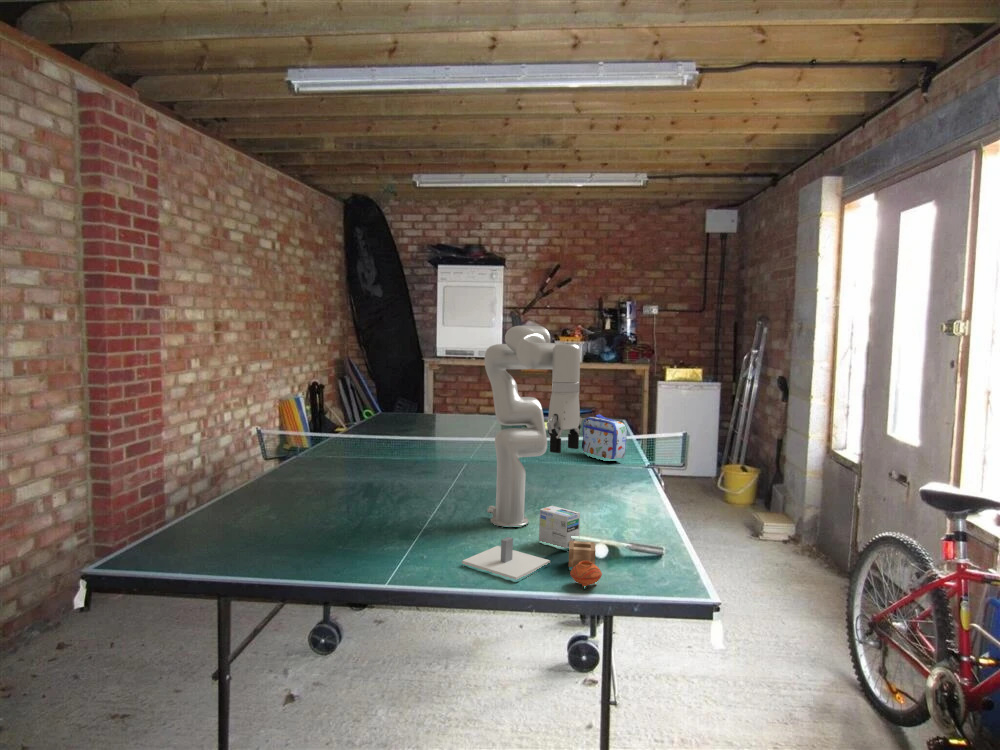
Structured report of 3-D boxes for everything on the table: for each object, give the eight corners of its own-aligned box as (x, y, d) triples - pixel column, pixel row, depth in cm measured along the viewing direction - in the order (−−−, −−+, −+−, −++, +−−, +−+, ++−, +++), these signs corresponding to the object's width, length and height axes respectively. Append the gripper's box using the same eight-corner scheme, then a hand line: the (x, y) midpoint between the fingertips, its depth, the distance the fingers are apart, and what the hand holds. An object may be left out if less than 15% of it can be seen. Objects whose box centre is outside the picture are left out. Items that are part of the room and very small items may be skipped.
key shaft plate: (462, 565, 176) (462, 538, 175) (497, 550, 189) (498, 525, 188) (516, 583, 165) (517, 554, 165) (549, 565, 178) (550, 539, 177)
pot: (604, 592, 160) (598, 566, 160) (572, 596, 162) (567, 570, 161) (604, 579, 168) (599, 554, 168) (574, 583, 170) (569, 558, 169)
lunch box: (577, 455, 335) (578, 412, 333) (592, 453, 340) (594, 412, 339) (611, 465, 311) (613, 420, 310) (628, 464, 317) (630, 419, 315)
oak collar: (568, 570, 175) (569, 549, 174) (568, 561, 182) (569, 540, 181) (594, 572, 174) (595, 550, 173) (593, 563, 181) (594, 542, 180)
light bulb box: (579, 547, 194) (581, 511, 193) (566, 552, 189) (567, 516, 188) (551, 538, 201) (552, 504, 200) (537, 543, 196) (539, 508, 195)
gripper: (569, 386, 188) (568, 445, 188) (537, 389, 174) (536, 452, 174) (592, 388, 183) (591, 448, 184) (561, 390, 169) (560, 455, 170)
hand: (564, 450), depth 179 cm, fingers open, 9 cm apart
